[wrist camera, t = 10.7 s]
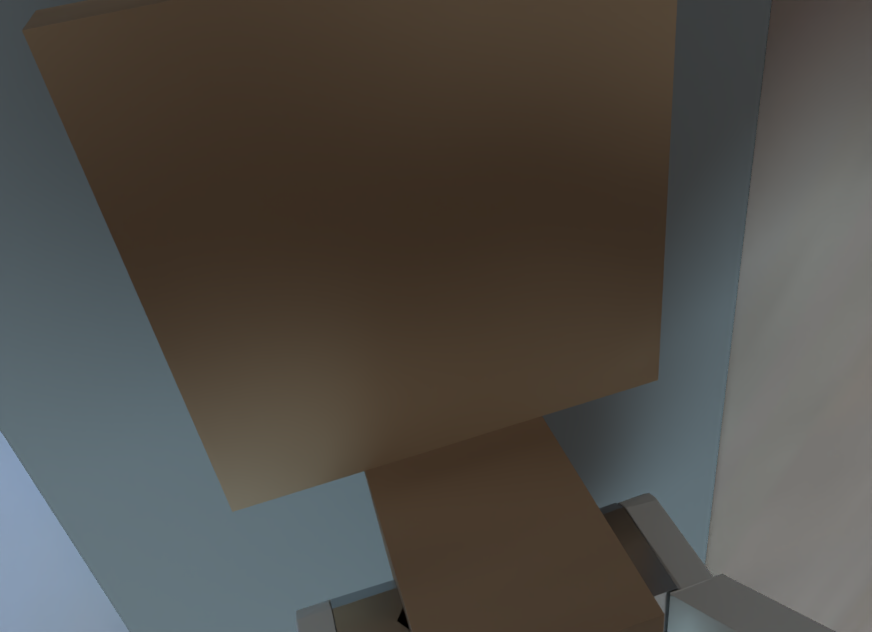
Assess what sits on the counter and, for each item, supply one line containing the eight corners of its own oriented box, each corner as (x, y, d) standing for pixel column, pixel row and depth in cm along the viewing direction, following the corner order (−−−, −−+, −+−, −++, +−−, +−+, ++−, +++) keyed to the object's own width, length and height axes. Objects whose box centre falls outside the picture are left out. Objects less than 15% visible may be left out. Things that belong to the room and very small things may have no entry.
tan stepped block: (624, 646, 16) (738, 856, 13) (346, 748, 15) (393, 1003, 12) (639, -109, 8) (970, -58, 5) (35, 11, 7) (-84, 182, 4)
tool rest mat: (788, -370, 9) (816, -380, 8) (685, 622, 20) (696, 638, 20) (-375, -205, 7) (-411, -208, 6) (241, 786, 18) (243, 807, 18)
